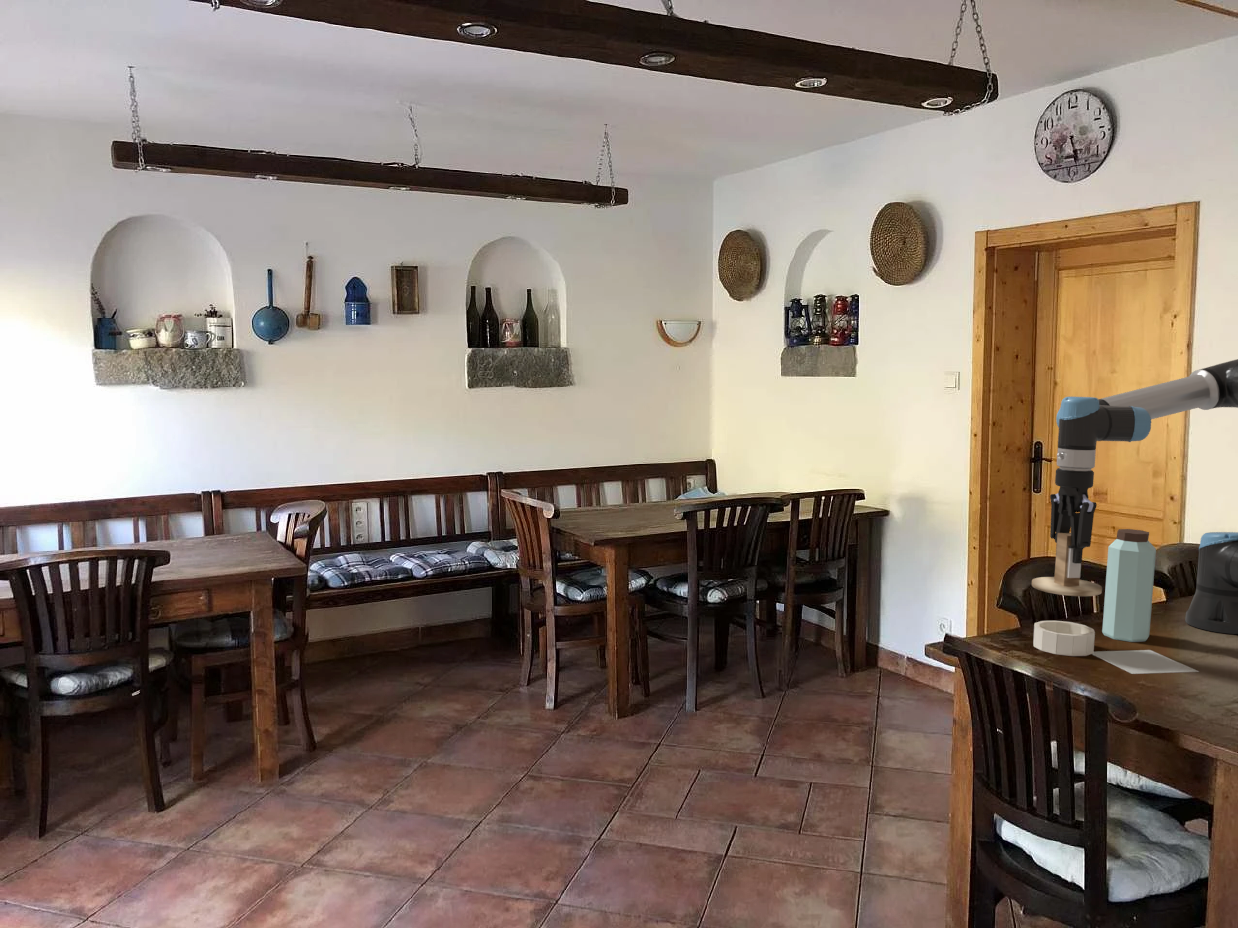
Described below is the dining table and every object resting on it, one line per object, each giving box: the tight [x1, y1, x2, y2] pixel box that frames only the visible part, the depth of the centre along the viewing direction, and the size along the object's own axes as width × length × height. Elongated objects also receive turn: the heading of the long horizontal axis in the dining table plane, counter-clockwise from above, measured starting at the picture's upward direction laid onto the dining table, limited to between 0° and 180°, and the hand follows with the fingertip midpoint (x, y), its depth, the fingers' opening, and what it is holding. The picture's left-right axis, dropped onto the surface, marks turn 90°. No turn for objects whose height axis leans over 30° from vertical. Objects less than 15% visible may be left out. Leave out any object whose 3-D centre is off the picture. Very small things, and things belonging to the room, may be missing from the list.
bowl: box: [1033, 620, 1096, 657], centre depth 220 cm, size 12×12×5 cm
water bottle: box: [1101, 528, 1157, 643], centre depth 229 cm, size 10×10×25 cm
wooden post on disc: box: [1031, 532, 1103, 597], centre depth 218 cm, size 14×14×12 cm
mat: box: [1091, 649, 1200, 675], centre depth 211 cm, size 15×15×1 cm
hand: (1067, 575), depth 219 cm, fingers closed on wooden post on disc, 4 cm apart
